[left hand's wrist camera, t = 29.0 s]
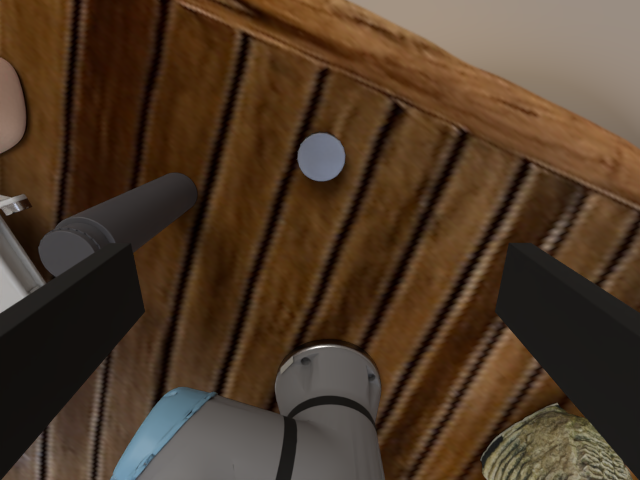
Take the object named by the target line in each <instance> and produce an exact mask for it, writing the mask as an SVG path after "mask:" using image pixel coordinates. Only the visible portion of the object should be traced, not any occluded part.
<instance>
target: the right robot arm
mask: <svg viewBox="0 0 640 480" xmlns="http://www.w3.org/2000/svg"><path fill="white" fill-rule="evenodd" d="M30 207H32V205H31V203H30V202H29V200H28V199H27V197H26V196H25V194H22V195H19V196H16V197H12V198H11V197H7V196H3V195H0V209H2V210H3V211H4V213H5V214H6V216H7V215H10V214H13V213H16V212H19V211H22V210H25V209H27V208H30ZM45 284H46V282H45V280H44V279H43V277H42V276H41V274H40V273H39V271H38V270H37V268H36V267H35V265H34V264H33V262H32V261H31V260H30V258H29V257H28V255H27V254H26V252H25V251H24V249H23V248H22V246H21V245H20V243H19V242H18V240H17V239H16V237H15V236H14V234H13V233H12V231H11V230H10V228H9V227H8V225H7V224H6V222H5V221H4V219H3V218H2V217H1V215H0V313H1V312H3V311H4V310H6V309H7V308H9V307H11V306H12V305H14V304H15V303H17V302H18V301H20V300H21V299H23V298H25V297H26V296H28V295H29V294H31V293H32V292H34V291H35V290H37V289H39V288H40V287H42V286H43V285H45Z"/></svg>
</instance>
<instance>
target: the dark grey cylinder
mask: <svg viewBox="0 0 640 480" xmlns="http://www.w3.org/2000/svg"><path fill="white" fill-rule="evenodd" d="M196 200H197V189H196V186H195V184H194V183H193V182H192V180H191V179H190V178H188V177H187V176H185V175H183V174H180V173H169V174H167V175H164V176H162V177H160V178H158V179H155V180H153V181H151V182H149V183H146V184H144V185H142V186H139V187H137V188H135V189H133V190H130V191H128V192H126V193H124V194H121V195H119V196H117V197H114V198H112V199H110V200H108V201H105V202H103V203H101V204H99V205H96V206H94V207H92V208H89V209H87V210H85V211H83V212H80V213H78V214H76V215H74V216H71V217H69V218H67V219H65V220H63V221H61V222H60V223H59V224H58V225H57V226H56V228H55V229H54V230H51V231H50V232H49V233H47V234H45V236H44V237H43V239H42V240H41V241H40V246H39V247H38V249H39V254H40V258H41V261H42V263H43V265H44V266H45V268H46V269H47V270H48V271H49V272H50V273H51V274H52V275H54V276H55V277H57V276H59V275H60V274H62V273H63V272H65V271H66V270H68V269H70V268H71V267H73V266H74V265H76V264H77V263H79V262H80V261H82V260H83V259H85V258H87V257H88V256H90V255H91V254H93V253H94V252H96V251H97V250H99V249H101V248H102V247H104V246H105V245H107V244H108V243H131V246H132V250H133V252H135V251H136V250H137V249H139V248H140V247H141V246H142V245H144V244H145V243H146V242H148V241H149V240H150V239H151V238H153V237H154V236H155V235H157V234H158V233H159V232H160V231H162V230H163V229H164V228H166V227H167V226H168V225H169V224H171V223H172V222H173V221H174V220H176V219H177V218H178V217H180V216H181V215H182V214H183V213H185V212H186V211H187V210H189V209H190V208H191V207H192V206H193V205H194V204H195V202H196Z"/></svg>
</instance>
